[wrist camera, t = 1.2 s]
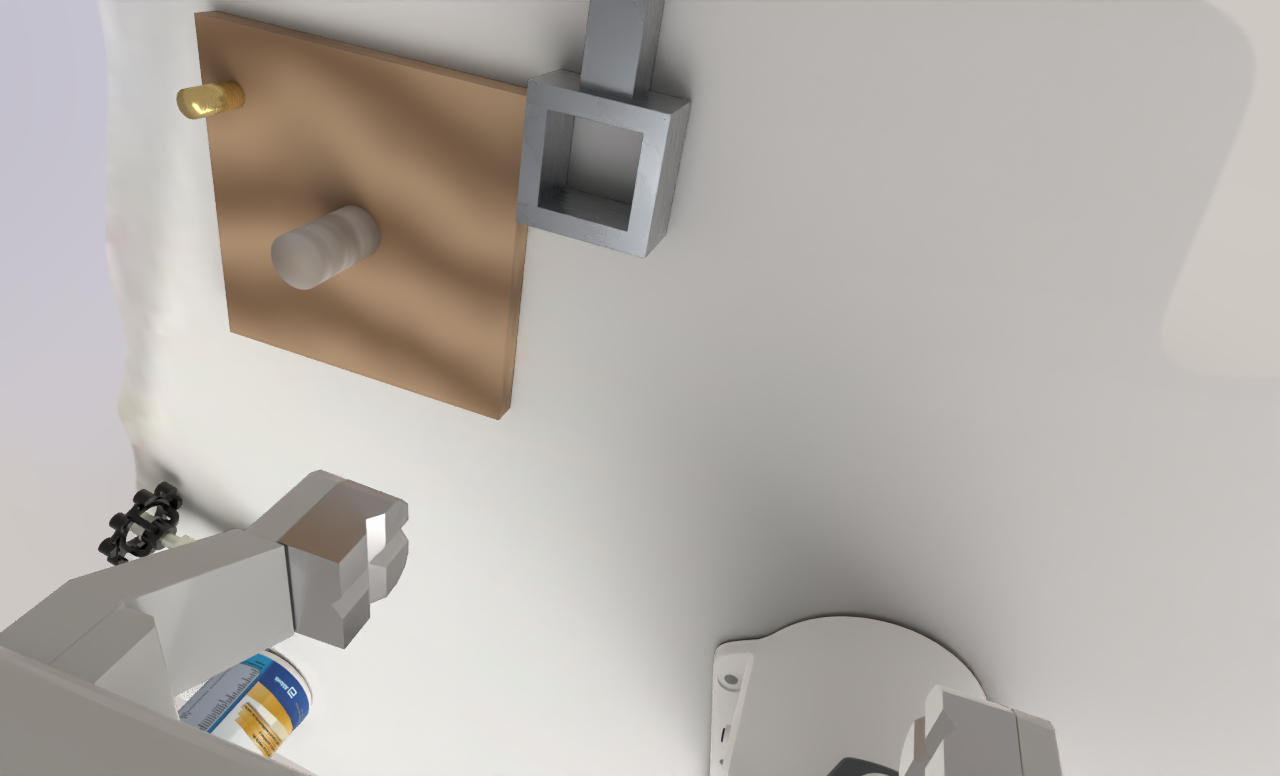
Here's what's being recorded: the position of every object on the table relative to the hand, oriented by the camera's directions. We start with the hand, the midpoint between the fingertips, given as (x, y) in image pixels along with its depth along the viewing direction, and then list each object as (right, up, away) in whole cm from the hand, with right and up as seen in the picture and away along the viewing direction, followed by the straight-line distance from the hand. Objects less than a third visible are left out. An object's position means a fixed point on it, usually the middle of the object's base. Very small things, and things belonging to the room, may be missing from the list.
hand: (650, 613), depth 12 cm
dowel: (-20, +19, +31) cm, 41 cm away
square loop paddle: (-1, +17, +24) cm, 30 cm away
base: (-15, +12, +32) cm, 37 cm away
